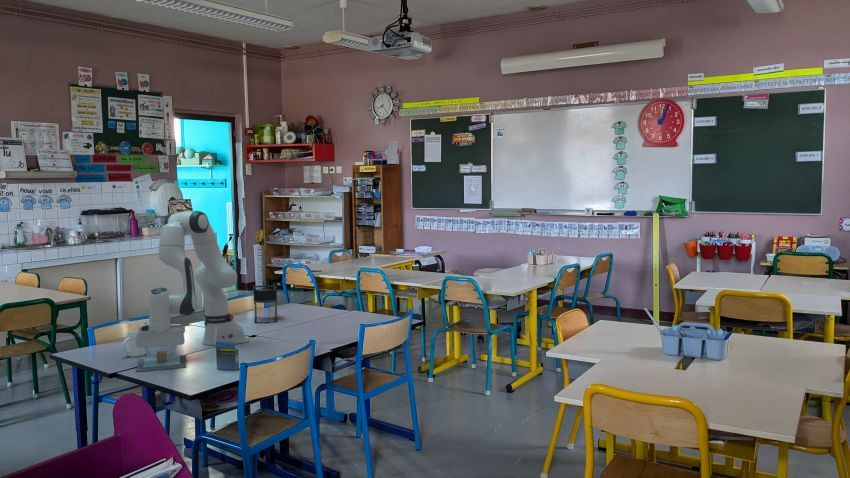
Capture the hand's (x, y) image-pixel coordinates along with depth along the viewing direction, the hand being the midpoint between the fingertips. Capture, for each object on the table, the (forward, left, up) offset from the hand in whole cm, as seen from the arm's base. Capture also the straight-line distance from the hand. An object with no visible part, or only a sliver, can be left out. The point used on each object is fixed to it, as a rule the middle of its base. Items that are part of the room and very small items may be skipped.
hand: (160, 355), depth 293 cm
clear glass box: (-55, -79, -4) cm, 96 cm away
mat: (-1, 0, -4) cm, 4 cm away
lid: (-1, 0, -3) cm, 3 cm away
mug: (+12, -20, -4) cm, 24 cm away
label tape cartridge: (-28, +18, -4) cm, 33 cm away
